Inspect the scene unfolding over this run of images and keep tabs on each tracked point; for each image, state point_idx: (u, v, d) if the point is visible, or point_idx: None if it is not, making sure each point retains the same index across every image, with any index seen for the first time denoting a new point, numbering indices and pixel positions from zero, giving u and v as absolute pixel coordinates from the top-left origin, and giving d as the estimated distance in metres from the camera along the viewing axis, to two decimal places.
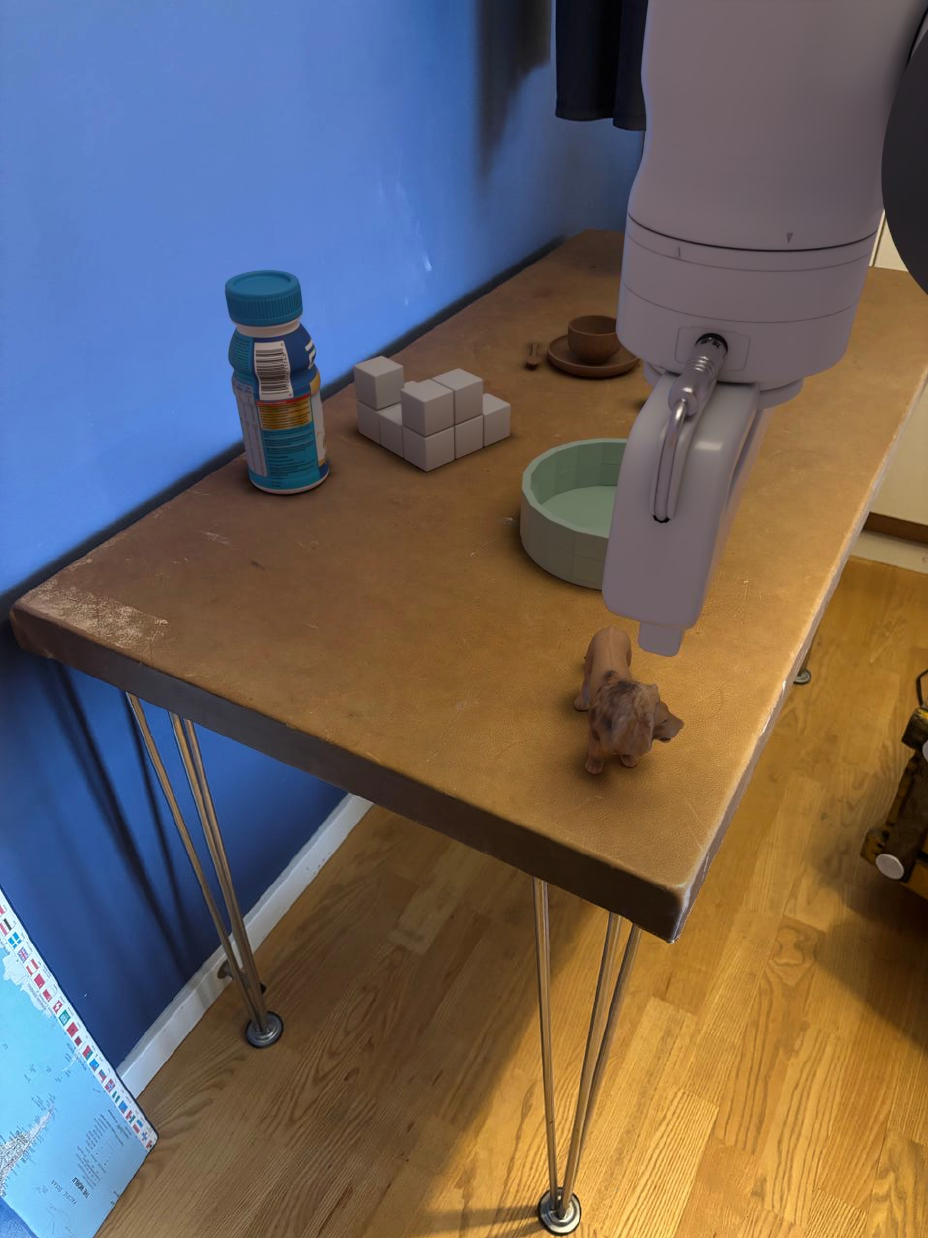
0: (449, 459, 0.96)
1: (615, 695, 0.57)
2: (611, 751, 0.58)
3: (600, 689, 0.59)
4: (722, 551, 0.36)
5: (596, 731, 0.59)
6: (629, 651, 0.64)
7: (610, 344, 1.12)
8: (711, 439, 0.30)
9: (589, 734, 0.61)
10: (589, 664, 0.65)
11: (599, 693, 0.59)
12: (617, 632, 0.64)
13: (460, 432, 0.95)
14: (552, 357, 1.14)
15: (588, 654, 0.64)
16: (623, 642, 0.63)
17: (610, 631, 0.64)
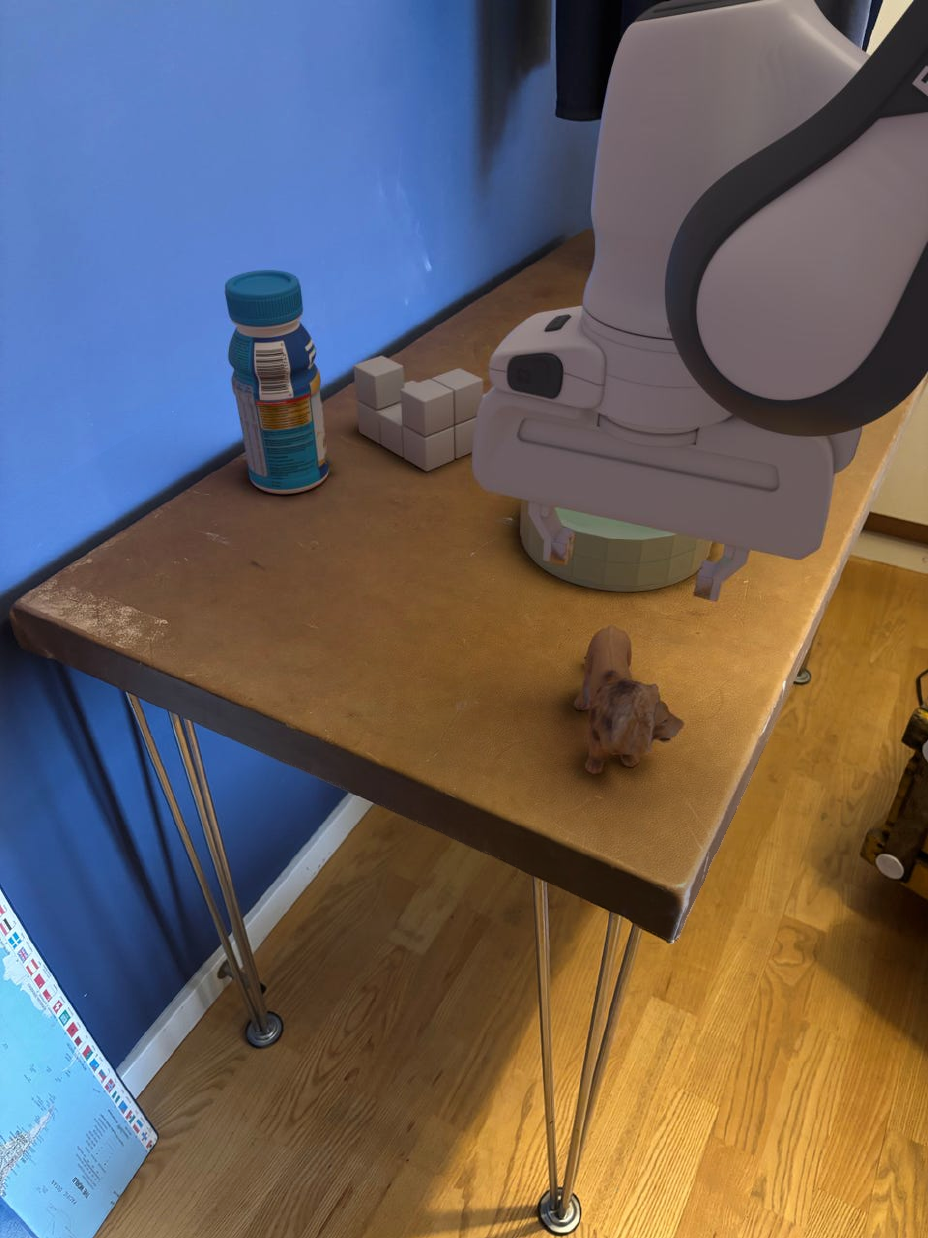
0: (449, 458, 0.96)
1: (615, 695, 0.57)
2: (611, 751, 0.58)
3: (600, 689, 0.59)
4: None
5: (596, 731, 0.59)
6: (629, 651, 0.64)
7: None
8: None
9: (589, 734, 0.61)
10: (589, 664, 0.65)
11: (599, 693, 0.59)
12: (617, 632, 0.64)
13: (460, 432, 0.95)
14: None
15: (588, 654, 0.64)
16: (624, 642, 0.63)
17: (610, 631, 0.64)
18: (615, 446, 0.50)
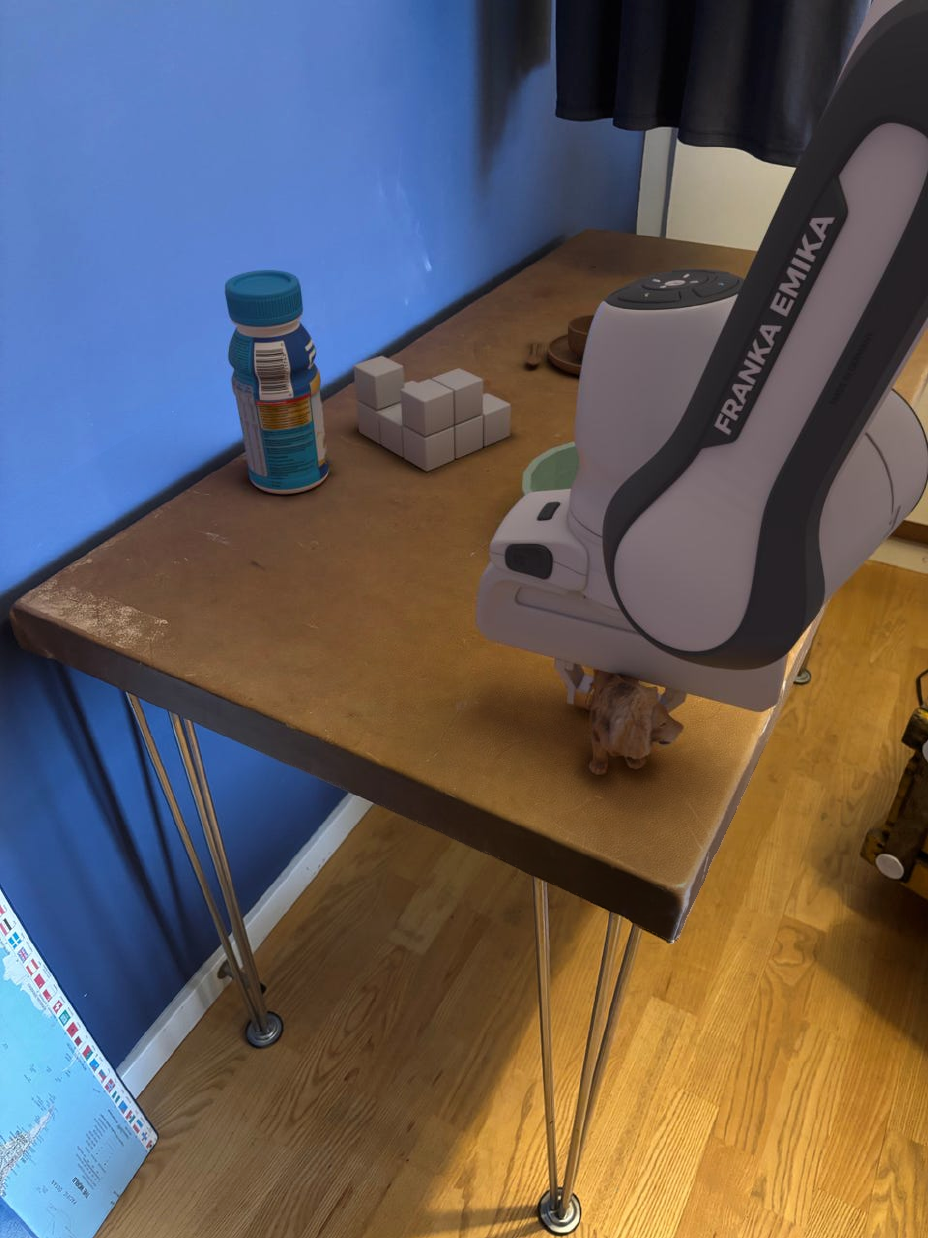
0: (449, 458, 0.96)
1: (614, 696, 0.56)
2: (611, 752, 0.58)
3: (602, 690, 0.59)
4: None
5: (596, 732, 0.58)
6: None
7: None
8: None
9: (592, 735, 0.61)
10: None
11: (600, 694, 0.59)
12: None
13: (460, 432, 0.95)
14: (552, 357, 1.14)
15: None
16: None
17: None
18: (599, 613, 0.57)
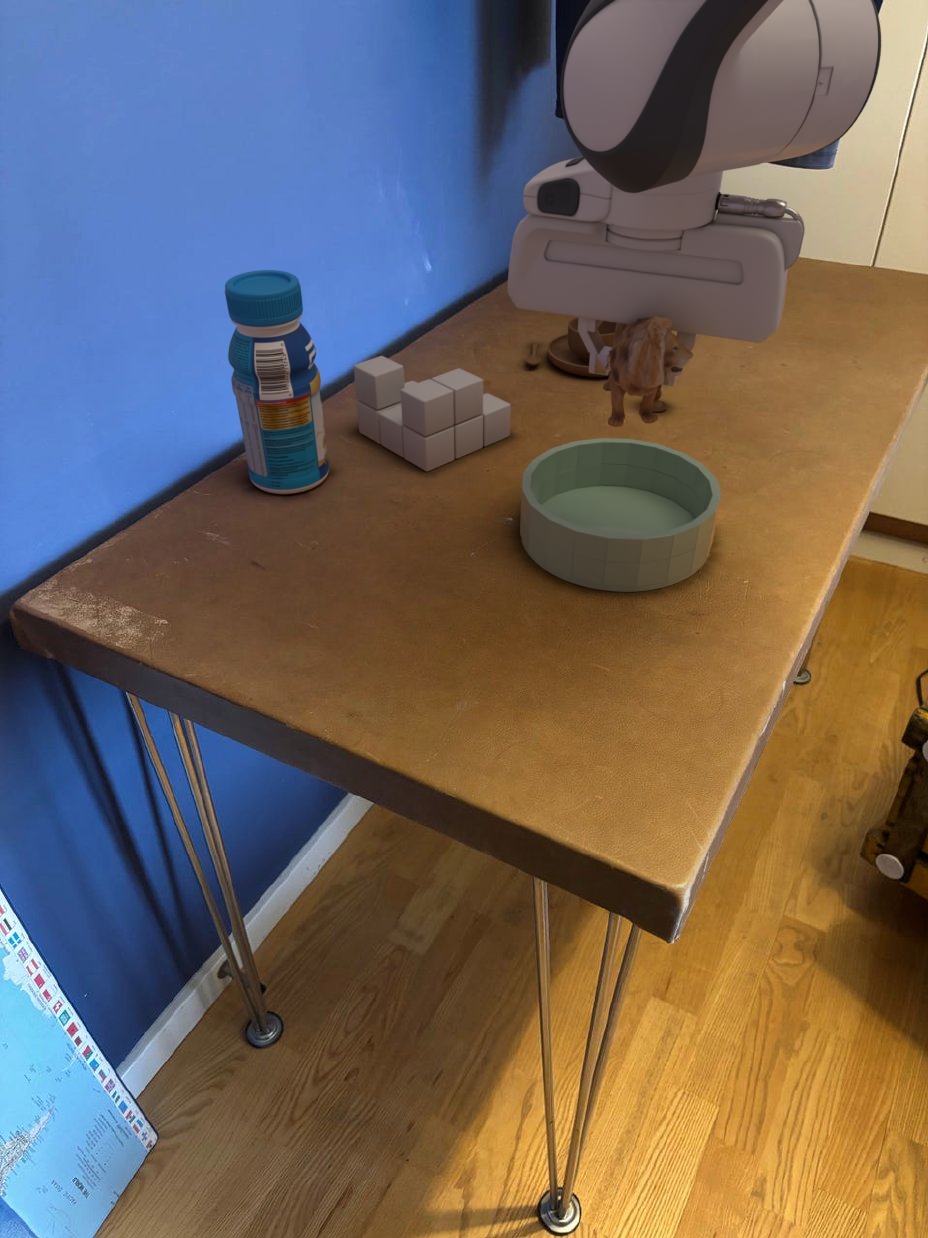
0: (449, 458, 0.96)
1: (632, 327, 0.64)
2: (628, 387, 0.66)
3: (621, 334, 0.67)
4: None
5: (615, 369, 0.66)
6: None
7: (610, 344, 1.12)
8: None
9: (611, 384, 0.69)
10: (616, 339, 0.72)
11: (620, 336, 0.66)
12: None
13: (460, 432, 0.95)
14: (552, 357, 1.14)
15: (615, 329, 0.72)
16: None
17: None
18: (619, 258, 0.65)
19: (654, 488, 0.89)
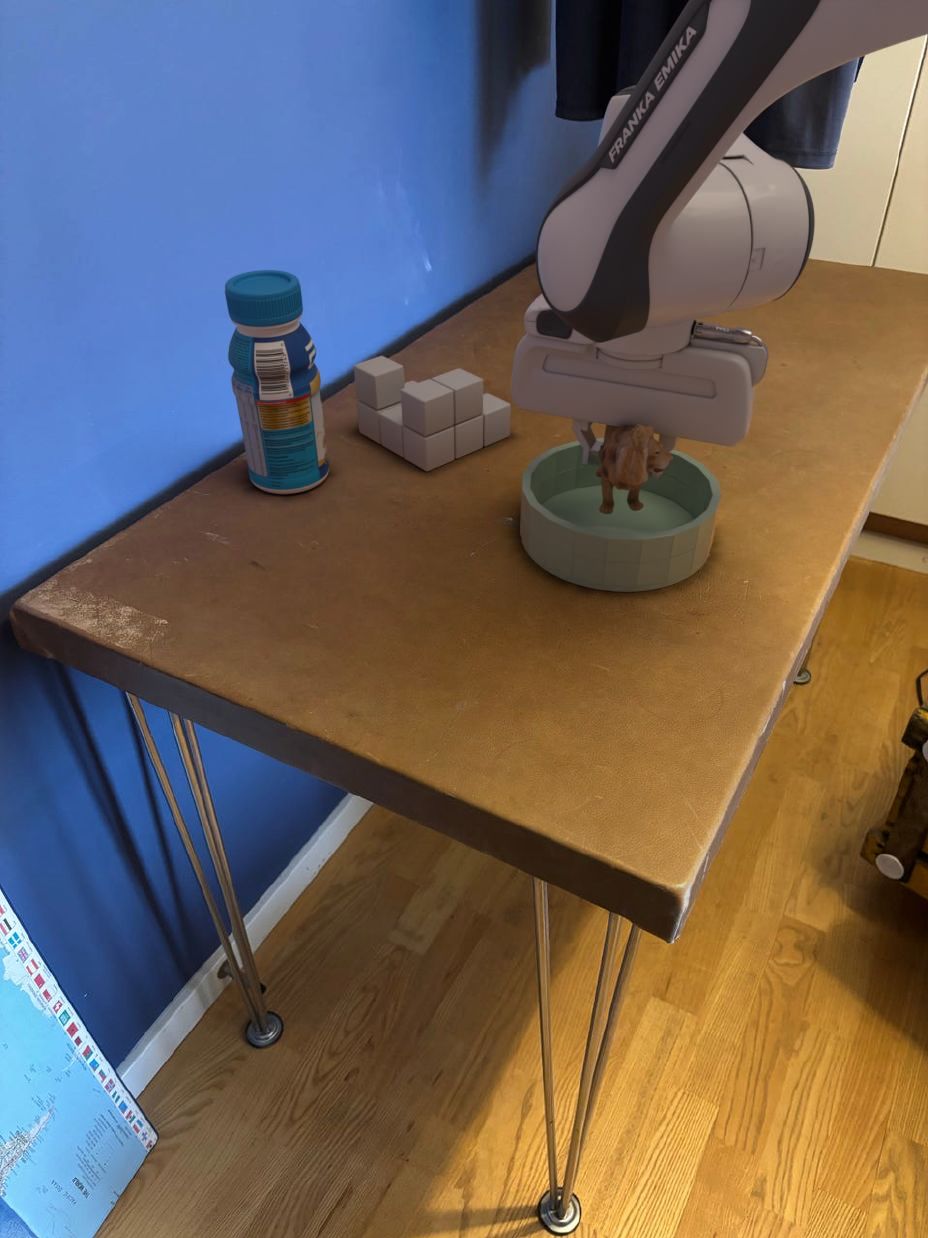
0: (449, 458, 0.96)
1: (619, 433, 0.73)
2: (616, 483, 0.75)
3: (610, 436, 0.76)
4: None
5: (605, 467, 0.75)
6: None
7: None
8: None
9: (602, 478, 0.78)
10: (607, 434, 0.81)
11: (609, 438, 0.75)
12: None
13: (460, 432, 0.95)
14: None
15: (606, 425, 0.81)
16: None
17: None
18: (608, 372, 0.74)
19: (654, 488, 0.89)
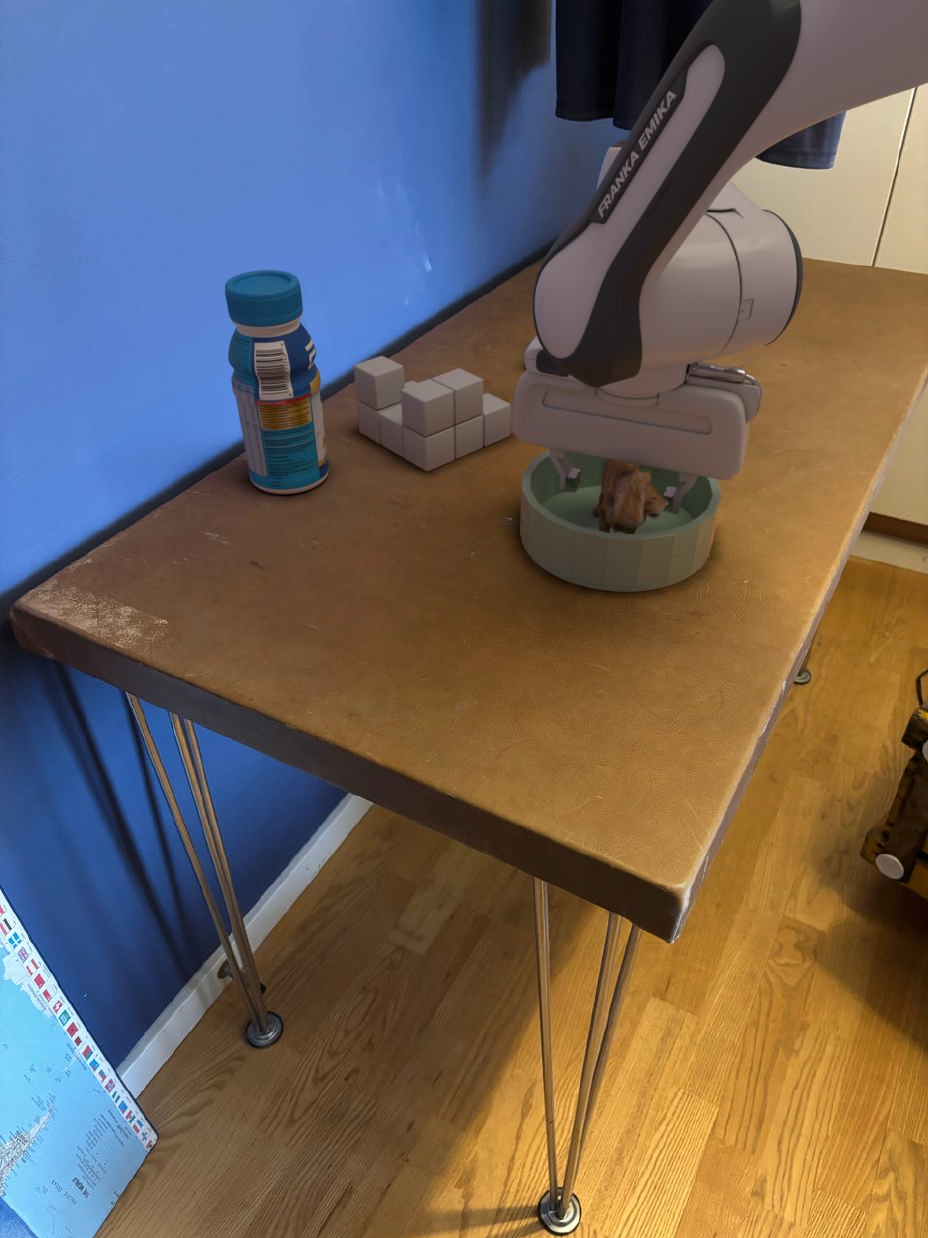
0: (449, 458, 0.96)
1: (618, 478, 0.76)
2: (614, 526, 0.78)
3: (608, 480, 0.78)
4: None
5: (603, 510, 0.78)
6: (635, 464, 0.83)
7: None
8: None
9: (599, 519, 0.80)
10: (605, 475, 0.84)
11: (607, 482, 0.78)
12: None
13: (460, 432, 0.95)
14: None
15: (604, 467, 0.84)
16: None
17: None
18: (606, 408, 0.76)
19: None
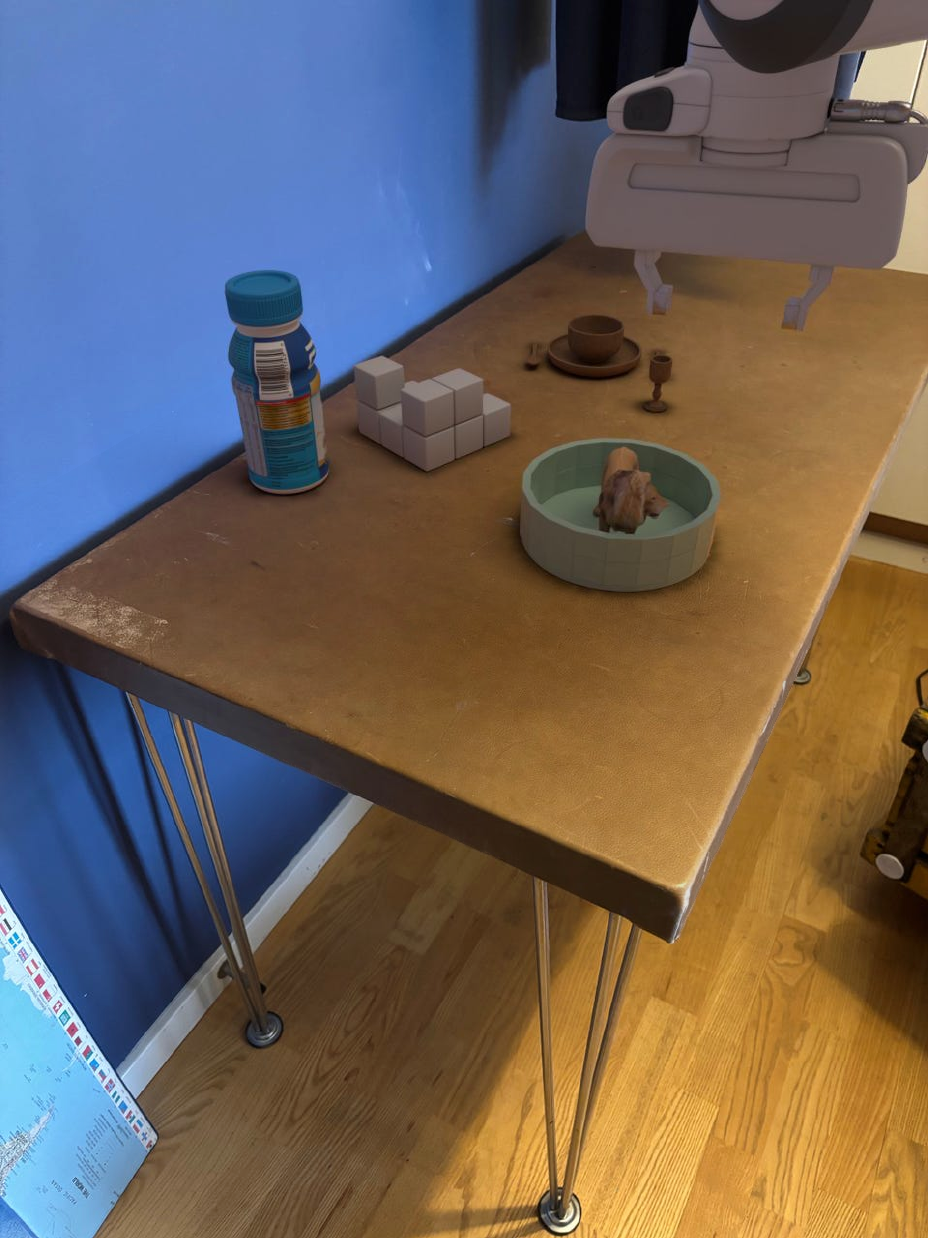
0: (449, 458, 0.96)
1: (618, 478, 0.76)
2: (614, 526, 0.78)
3: (608, 480, 0.78)
4: None
5: (603, 510, 0.78)
6: (635, 464, 0.83)
7: (610, 344, 1.12)
8: None
9: (599, 519, 0.80)
10: (605, 475, 0.84)
11: (607, 482, 0.78)
12: (627, 450, 0.83)
13: (460, 432, 0.95)
14: (552, 357, 1.14)
15: (604, 467, 0.84)
16: (631, 456, 0.82)
17: (622, 448, 0.83)
18: (715, 180, 0.58)
19: None
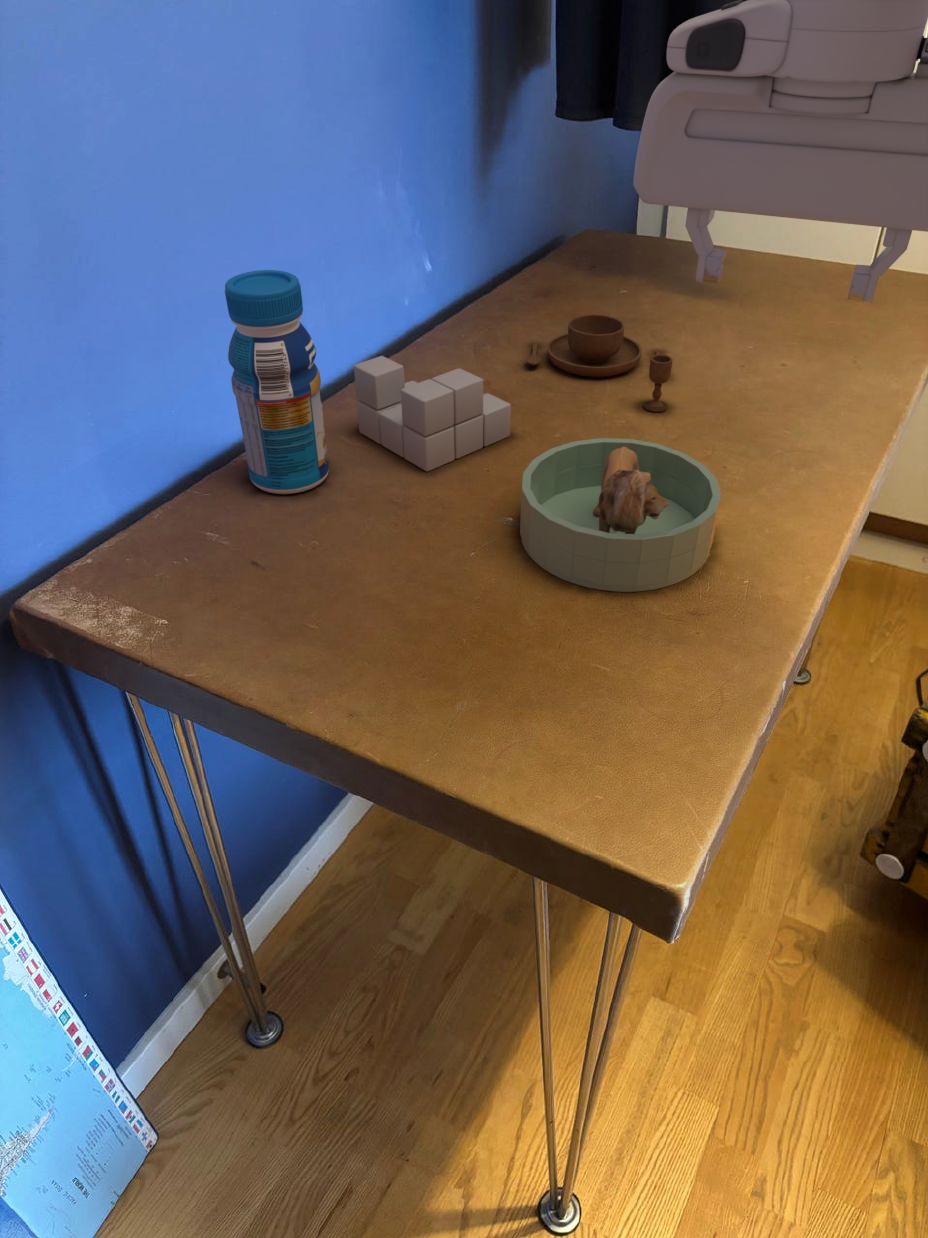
0: (449, 458, 0.96)
1: (618, 478, 0.76)
2: (614, 526, 0.78)
3: (608, 480, 0.78)
4: None
5: (603, 510, 0.78)
6: (635, 464, 0.83)
7: (610, 344, 1.12)
8: None
9: (599, 519, 0.80)
10: (605, 475, 0.84)
11: (607, 482, 0.78)
12: (627, 450, 0.83)
13: (460, 432, 0.95)
14: (552, 357, 1.14)
15: (604, 467, 0.84)
16: (631, 456, 0.82)
17: (622, 448, 0.83)
18: (784, 129, 0.52)
19: None
